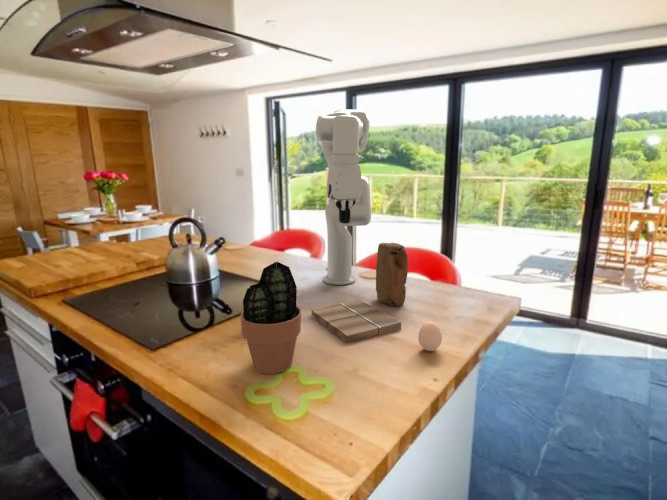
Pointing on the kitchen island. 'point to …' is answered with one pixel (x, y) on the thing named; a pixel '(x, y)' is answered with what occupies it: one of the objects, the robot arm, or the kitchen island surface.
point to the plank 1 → (331, 313)
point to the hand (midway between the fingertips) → (344, 222)
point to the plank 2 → (353, 328)
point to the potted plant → (271, 319)
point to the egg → (430, 336)
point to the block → (391, 273)
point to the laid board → (373, 316)
